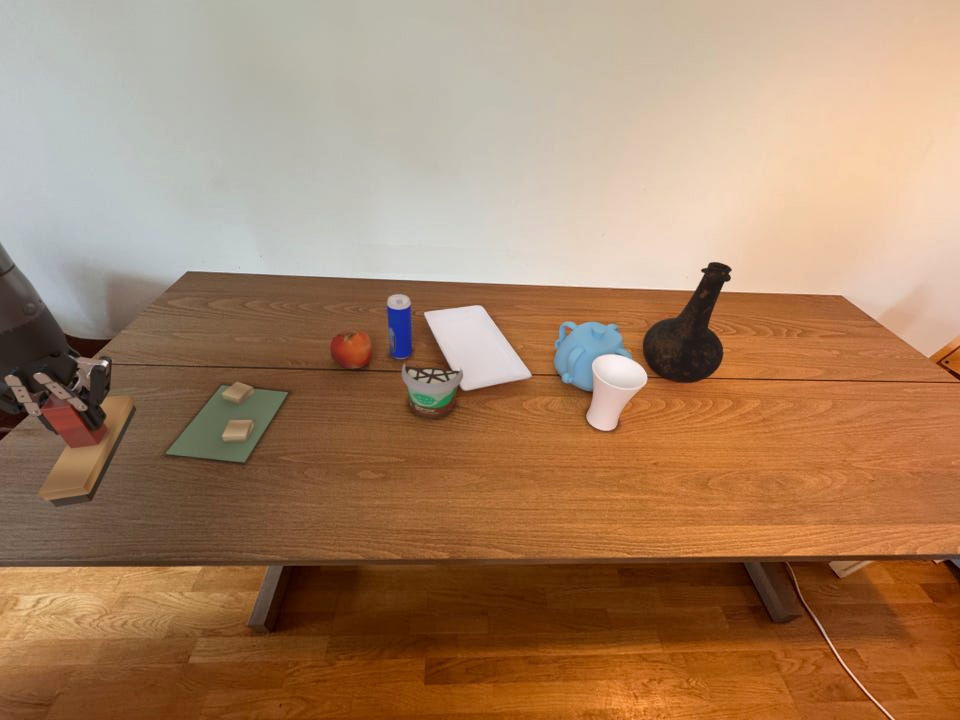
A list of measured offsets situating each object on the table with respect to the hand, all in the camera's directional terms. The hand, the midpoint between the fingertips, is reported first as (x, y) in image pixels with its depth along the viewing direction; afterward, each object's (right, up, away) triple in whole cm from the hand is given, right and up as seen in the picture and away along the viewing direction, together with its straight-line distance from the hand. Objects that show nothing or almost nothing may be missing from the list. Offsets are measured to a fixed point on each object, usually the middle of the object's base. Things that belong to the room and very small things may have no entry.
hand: (81, 427), depth 54 cm
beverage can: (+32, +10, +47) cm, 58 cm away
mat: (+3, -3, +27) cm, 27 cm away
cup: (+77, -4, +36) cm, 85 cm away
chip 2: (+6, -5, +25) cm, 26 cm away
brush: (0, -4, +3) cm, 5 cm away
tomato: (+22, +8, +44) cm, 49 cm away
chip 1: (+2, +1, +32) cm, 32 cm away
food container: (+41, -2, +33) cm, 53 cm away
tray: (+49, +10, +50) cm, 71 cm away
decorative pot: (+76, +5, +47) cm, 89 cm away
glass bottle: (+99, +6, +51) cm, 111 cm away
